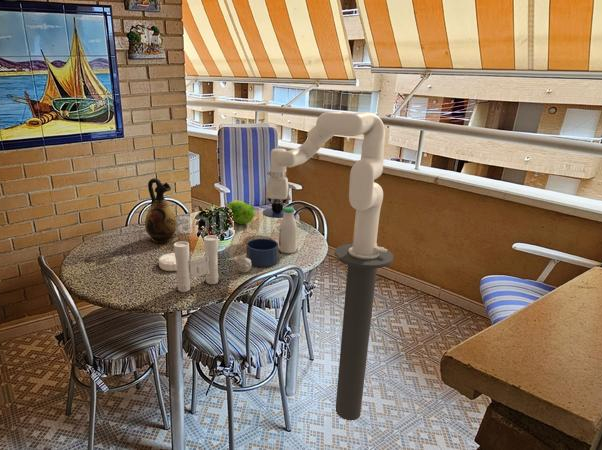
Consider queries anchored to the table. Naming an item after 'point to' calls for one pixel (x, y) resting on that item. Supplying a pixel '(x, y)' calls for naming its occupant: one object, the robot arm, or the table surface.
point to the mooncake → (168, 262)
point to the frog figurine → (243, 263)
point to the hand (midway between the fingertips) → (277, 211)
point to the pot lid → (274, 214)
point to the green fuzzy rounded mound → (241, 211)
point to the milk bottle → (288, 231)
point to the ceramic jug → (160, 214)
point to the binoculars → (196, 263)
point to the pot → (262, 252)
